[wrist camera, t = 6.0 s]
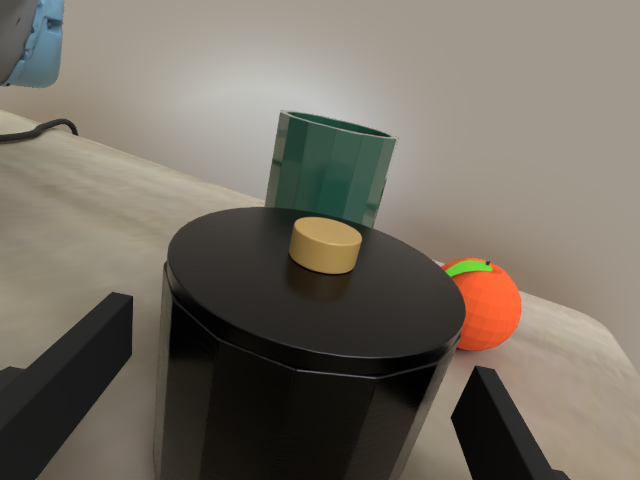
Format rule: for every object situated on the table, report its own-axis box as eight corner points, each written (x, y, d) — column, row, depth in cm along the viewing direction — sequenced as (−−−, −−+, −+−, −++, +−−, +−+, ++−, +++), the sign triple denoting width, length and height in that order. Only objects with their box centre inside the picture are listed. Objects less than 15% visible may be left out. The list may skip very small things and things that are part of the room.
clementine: (438, 379, 24) (477, 288, 22) (384, 316, 30) (410, 238, 28) (519, 365, 28) (561, 285, 25) (457, 312, 34) (486, 242, 31)
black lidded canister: (144, 380, 19) (152, 174, 15) (323, 347, 25) (365, 190, 21) (175, 651, 11) (213, 350, 7) (437, 509, 16) (548, 297, 12)
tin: (238, 274, 31) (263, 104, 26) (320, 269, 36) (356, 122, 30) (272, 334, 25) (314, 125, 20) (367, 320, 29) (423, 144, 24)
